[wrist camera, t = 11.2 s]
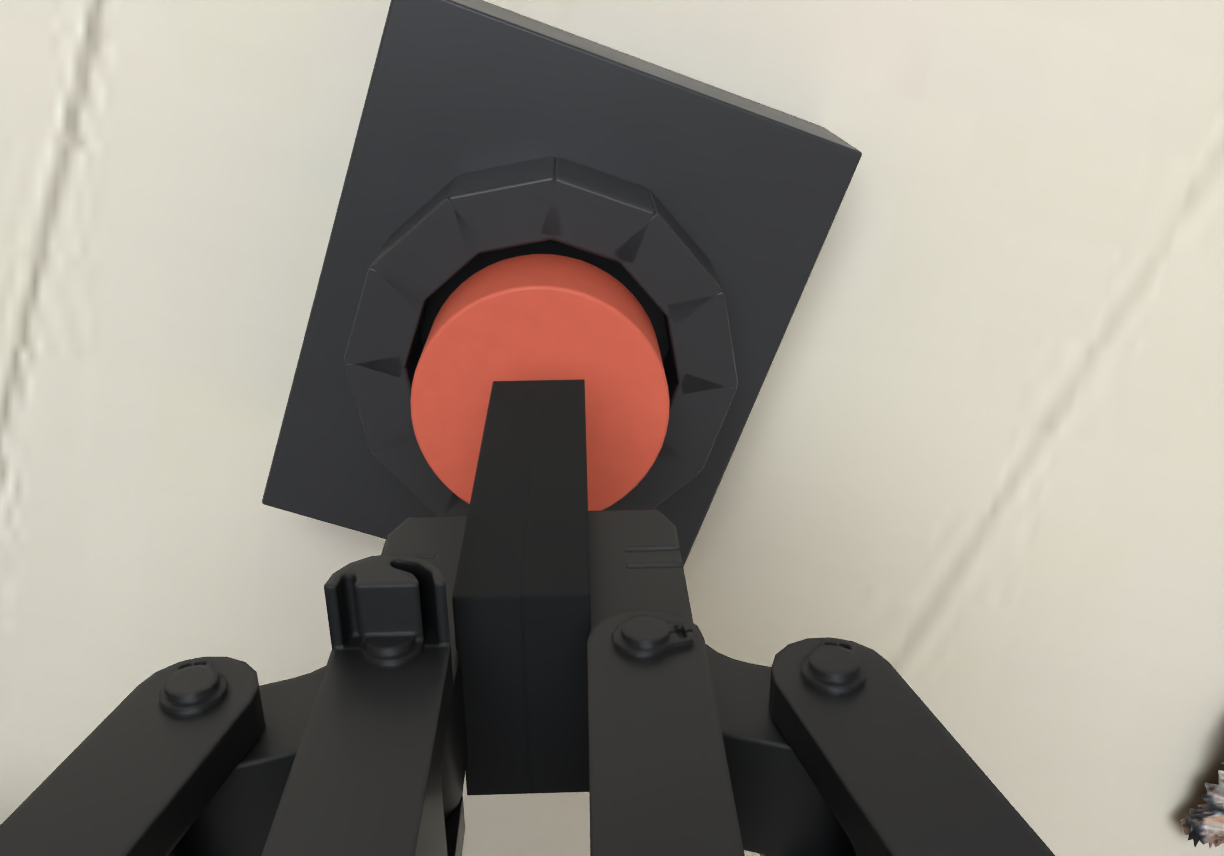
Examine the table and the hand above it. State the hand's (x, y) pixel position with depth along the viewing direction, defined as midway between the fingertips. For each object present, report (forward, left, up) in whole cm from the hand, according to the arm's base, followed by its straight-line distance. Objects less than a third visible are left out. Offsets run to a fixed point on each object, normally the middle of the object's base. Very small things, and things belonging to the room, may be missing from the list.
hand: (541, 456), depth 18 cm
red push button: (0, 0, -4) cm, 5 cm away
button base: (0, 0, -10) cm, 10 cm away
